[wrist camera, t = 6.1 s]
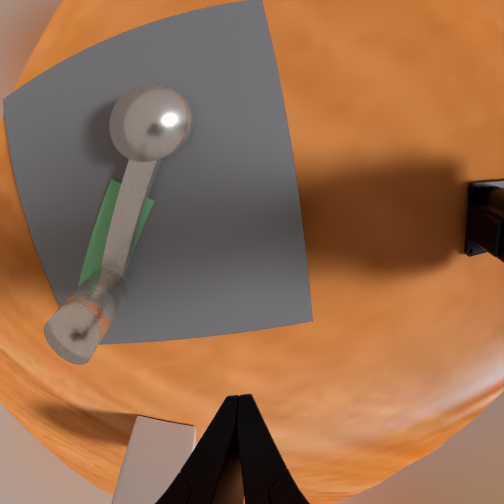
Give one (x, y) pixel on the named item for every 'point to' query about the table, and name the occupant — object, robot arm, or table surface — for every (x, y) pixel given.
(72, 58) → the board
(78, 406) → the table surface
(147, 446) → the milk carton
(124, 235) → the lever
